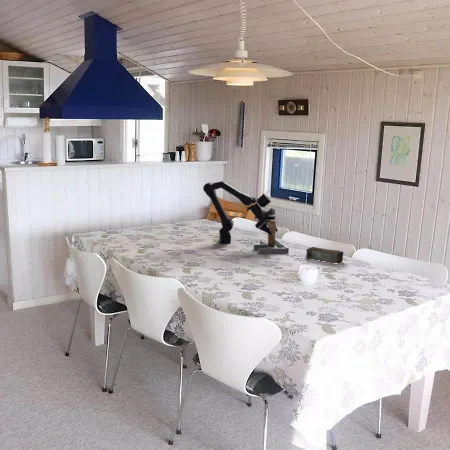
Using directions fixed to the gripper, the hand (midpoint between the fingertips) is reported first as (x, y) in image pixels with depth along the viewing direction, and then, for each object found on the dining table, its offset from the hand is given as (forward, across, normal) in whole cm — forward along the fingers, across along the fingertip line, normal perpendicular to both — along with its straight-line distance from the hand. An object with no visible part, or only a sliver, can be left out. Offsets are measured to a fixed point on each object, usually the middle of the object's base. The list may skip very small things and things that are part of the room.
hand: (274, 232), depth 324 cm
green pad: (+5, +1, +8) cm, 9 cm away
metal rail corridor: (+6, -6, +7) cm, 11 cm away
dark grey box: (+32, -11, -18) cm, 38 cm away
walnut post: (+5, 0, +7) cm, 9 cm away
